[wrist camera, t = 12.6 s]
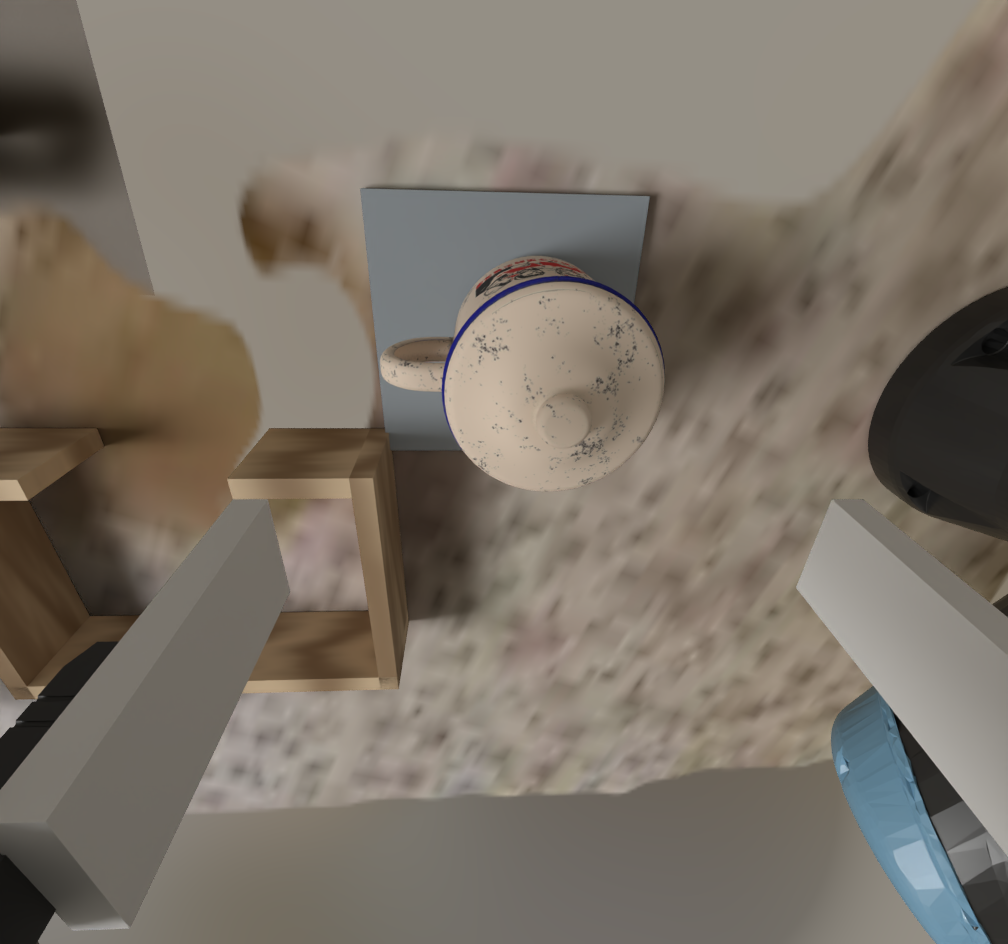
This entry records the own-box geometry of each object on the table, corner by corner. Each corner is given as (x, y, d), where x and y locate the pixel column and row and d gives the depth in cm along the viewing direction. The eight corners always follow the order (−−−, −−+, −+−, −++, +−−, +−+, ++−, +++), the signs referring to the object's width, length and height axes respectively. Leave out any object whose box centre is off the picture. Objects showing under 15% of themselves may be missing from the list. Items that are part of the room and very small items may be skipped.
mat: (646, 195, 25) (649, 196, 25) (610, 445, 32) (612, 450, 32) (362, 188, 24) (360, 188, 24) (388, 446, 31) (387, 450, 31)
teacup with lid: (627, 254, 26) (725, 299, 16) (601, 416, 30) (664, 532, 20) (391, 241, 25) (336, 281, 15) (400, 410, 30) (362, 528, 20)
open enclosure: (390, 428, 31) (372, 478, 26) (408, 621, 39) (398, 688, 34) (-32, 428, 29) (-141, 480, 24) (79, 628, 38) (15, 699, 32)
